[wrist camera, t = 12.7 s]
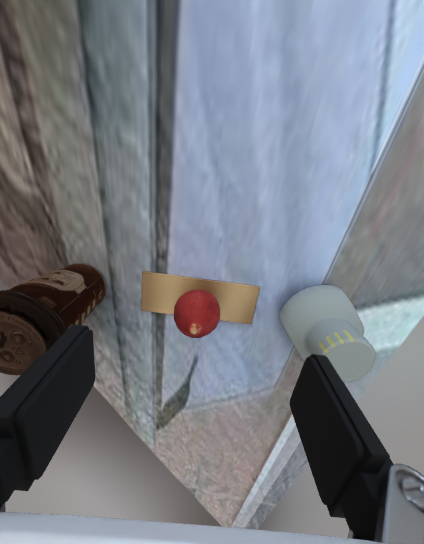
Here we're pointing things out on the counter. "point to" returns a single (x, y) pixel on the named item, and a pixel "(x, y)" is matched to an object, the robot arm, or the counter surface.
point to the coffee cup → (45, 313)
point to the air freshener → (328, 330)
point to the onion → (196, 313)
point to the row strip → (168, 288)
